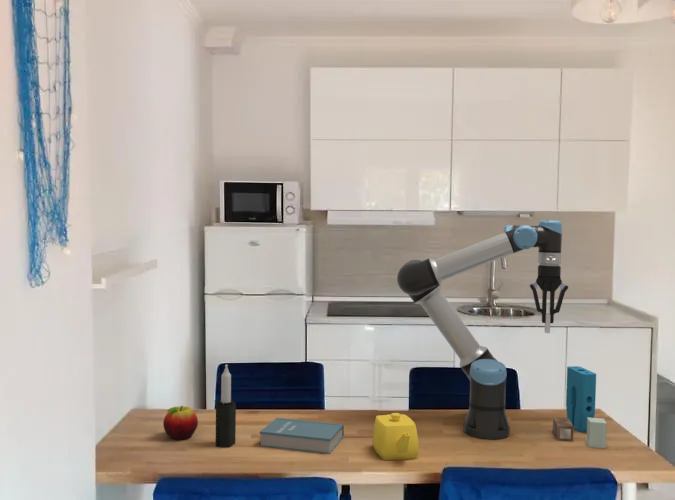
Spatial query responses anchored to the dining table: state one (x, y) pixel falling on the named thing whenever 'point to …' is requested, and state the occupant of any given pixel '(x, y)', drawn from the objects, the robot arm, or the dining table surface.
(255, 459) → the dining table surface
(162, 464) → the dining table surface
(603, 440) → the sage pillar
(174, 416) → the fruit
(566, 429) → the walnut pillar
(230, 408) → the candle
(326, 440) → the book
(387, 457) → the teapot
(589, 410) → the block
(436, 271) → the robot arm
